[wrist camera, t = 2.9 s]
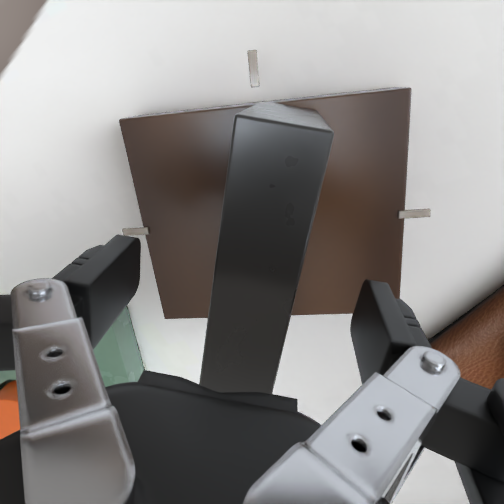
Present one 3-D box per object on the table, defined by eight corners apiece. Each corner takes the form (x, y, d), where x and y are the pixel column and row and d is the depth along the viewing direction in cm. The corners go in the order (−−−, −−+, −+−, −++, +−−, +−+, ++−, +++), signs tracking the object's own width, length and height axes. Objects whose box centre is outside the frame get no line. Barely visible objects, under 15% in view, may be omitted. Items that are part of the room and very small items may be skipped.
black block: (261, 100, 16) (232, 114, 9) (318, 110, 16) (336, 132, 9) (228, 310, 21) (191, 435, 14) (272, 319, 21) (259, 449, 13)
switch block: (127, 305, 25) (98, 343, 21) (157, 418, 29) (137, 467, 25) (-35, 311, 26) (-87, 347, 23) (15, 417, 30) (-23, 462, 27)
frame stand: (425, 33, 17) (446, 25, 15) (406, 318, 23) (418, 346, 21) (108, 73, 19) (81, 72, 17) (166, 325, 25) (153, 350, 23)
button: (55, 378, 23) (37, 400, 22) (76, 430, 25) (60, 454, 23) (-9, 378, 24) (-31, 399, 22) (15, 429, 25) (-3, 452, 24)
